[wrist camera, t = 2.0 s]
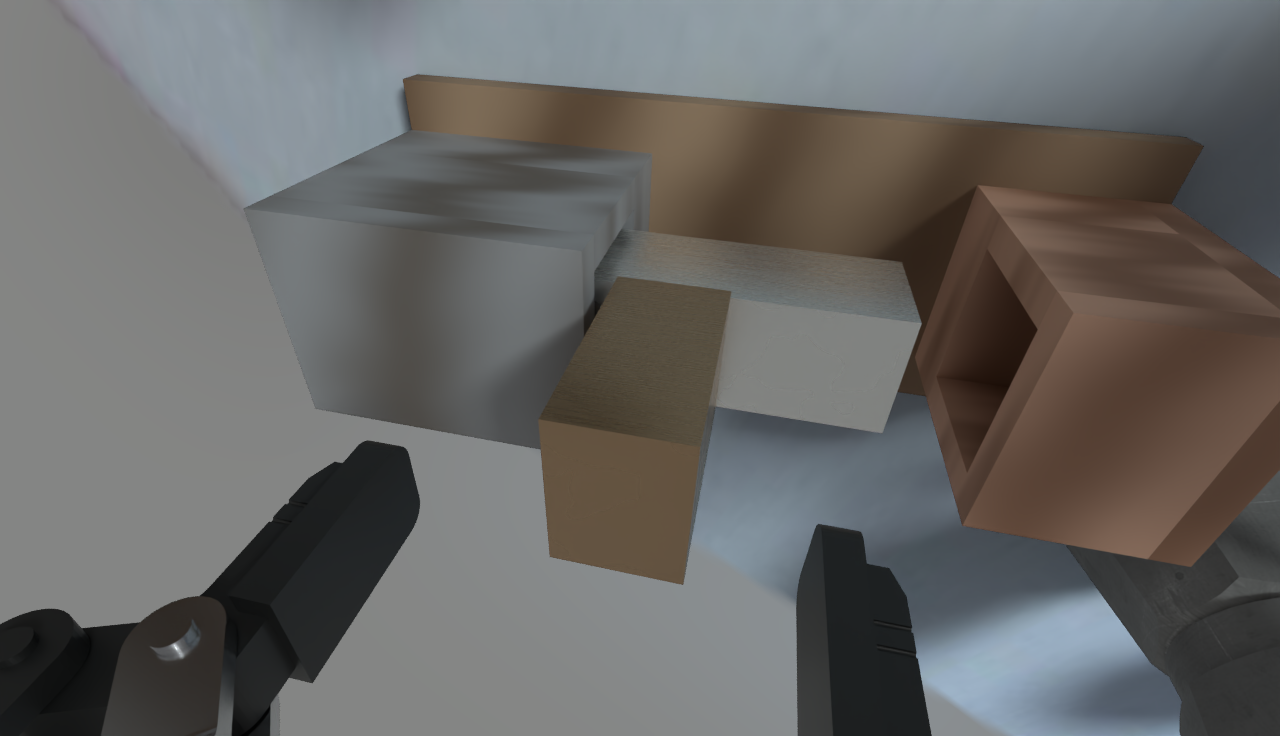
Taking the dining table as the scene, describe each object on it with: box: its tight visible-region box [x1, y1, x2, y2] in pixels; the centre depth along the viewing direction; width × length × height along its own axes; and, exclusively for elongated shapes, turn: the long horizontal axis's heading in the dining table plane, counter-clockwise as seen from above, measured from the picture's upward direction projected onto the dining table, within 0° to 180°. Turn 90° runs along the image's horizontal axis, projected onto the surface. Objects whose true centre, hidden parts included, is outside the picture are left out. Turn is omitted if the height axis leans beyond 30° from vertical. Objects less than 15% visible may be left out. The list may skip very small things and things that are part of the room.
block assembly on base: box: [244, 74, 1280, 567], centre depth 19 cm, size 25×10×9 cm, turn 88°
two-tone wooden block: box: [538, 229, 922, 585], centre depth 16 cm, size 17×4×10 cm, turn 88°
